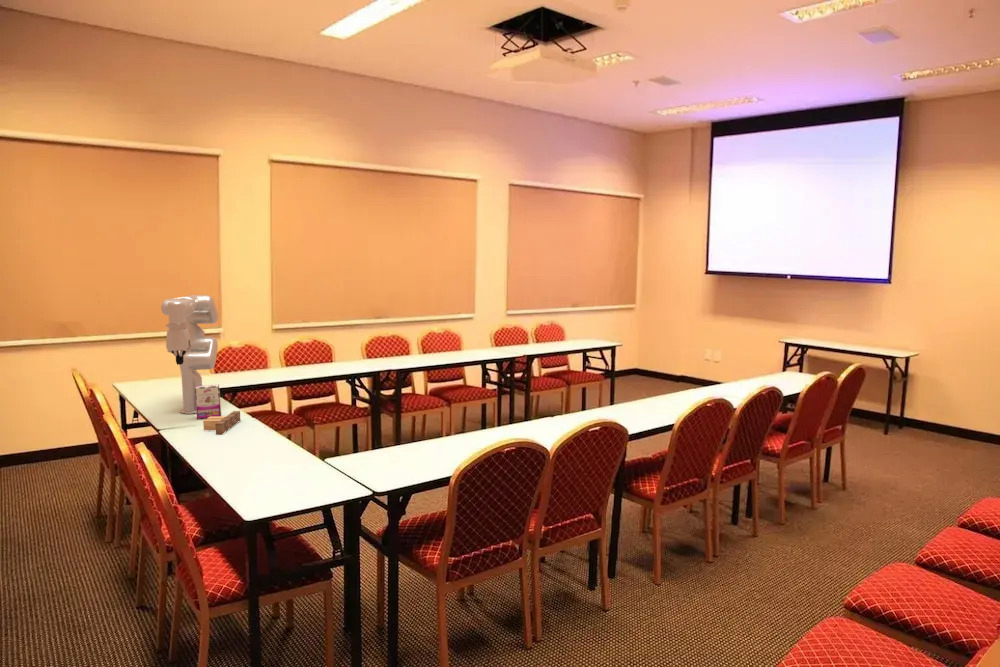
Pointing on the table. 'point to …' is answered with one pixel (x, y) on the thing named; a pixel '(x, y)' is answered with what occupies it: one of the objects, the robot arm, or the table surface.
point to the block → (212, 422)
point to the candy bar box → (208, 401)
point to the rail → (227, 422)
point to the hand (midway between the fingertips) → (179, 364)
